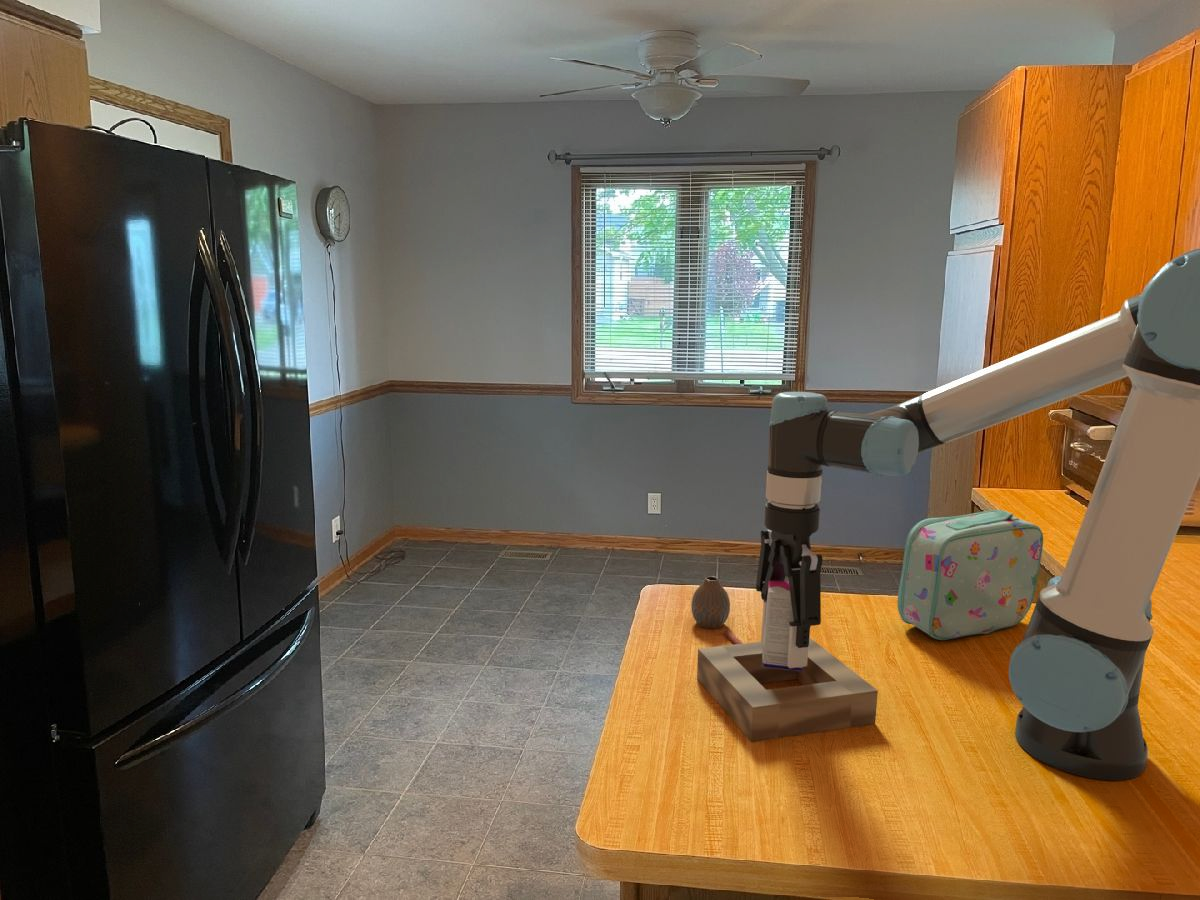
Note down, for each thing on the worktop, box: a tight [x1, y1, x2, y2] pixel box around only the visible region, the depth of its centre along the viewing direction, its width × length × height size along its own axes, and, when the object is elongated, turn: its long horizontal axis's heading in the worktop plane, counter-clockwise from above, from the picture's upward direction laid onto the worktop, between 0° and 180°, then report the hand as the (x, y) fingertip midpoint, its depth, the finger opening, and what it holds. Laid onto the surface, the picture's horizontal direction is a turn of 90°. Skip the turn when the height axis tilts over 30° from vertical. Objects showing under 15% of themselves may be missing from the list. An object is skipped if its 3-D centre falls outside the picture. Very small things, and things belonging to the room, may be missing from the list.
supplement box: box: [762, 580, 803, 671], centre depth 120 cm, size 6×6×12 cm
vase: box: [690, 575, 731, 630], centre depth 149 cm, size 7×7×9 cm
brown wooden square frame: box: [696, 636, 879, 743], centre depth 122 cm, size 19×19×5 cm
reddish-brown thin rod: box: [723, 628, 743, 644], centre depth 140 cm, size 12×1×1 cm, turn 16°
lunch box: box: [897, 509, 1044, 641], centre depth 149 cm, size 27×10×21 cm, turn 115°
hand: (783, 653), depth 121 cm, fingers closed on supplement box, 7 cm apart
